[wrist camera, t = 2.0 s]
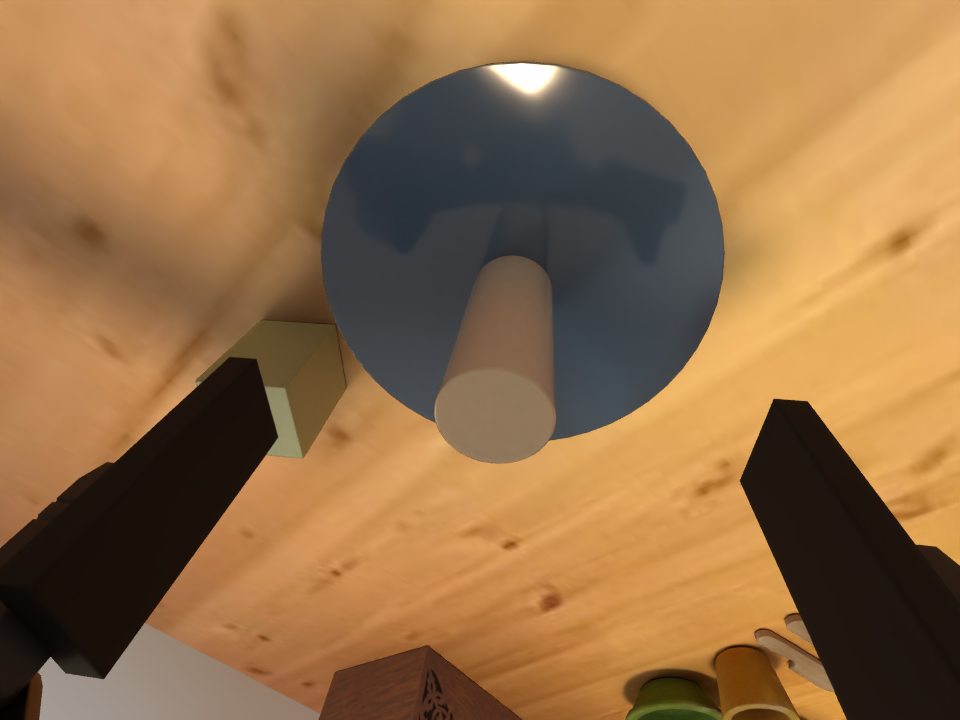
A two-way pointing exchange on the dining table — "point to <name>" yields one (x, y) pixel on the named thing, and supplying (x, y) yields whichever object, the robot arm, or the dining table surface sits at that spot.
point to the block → (294, 378)
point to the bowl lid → (522, 254)
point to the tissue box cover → (409, 692)
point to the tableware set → (735, 684)
